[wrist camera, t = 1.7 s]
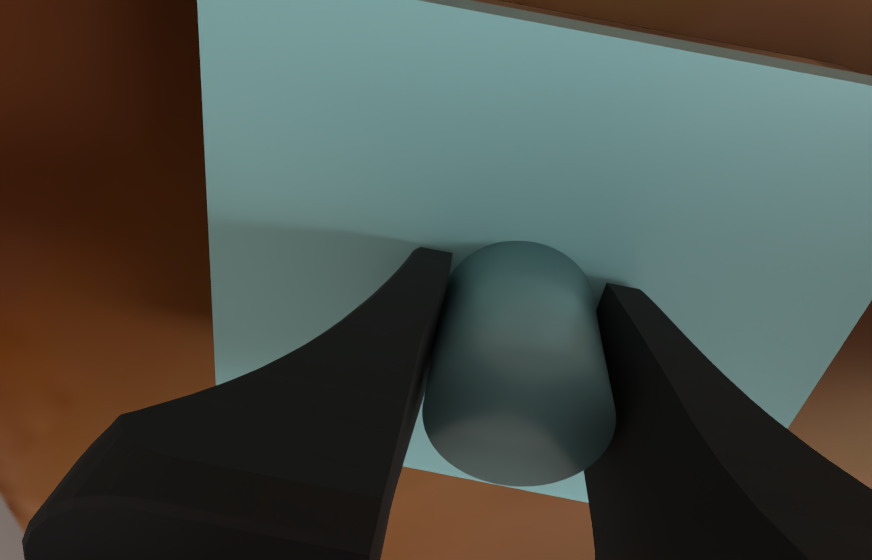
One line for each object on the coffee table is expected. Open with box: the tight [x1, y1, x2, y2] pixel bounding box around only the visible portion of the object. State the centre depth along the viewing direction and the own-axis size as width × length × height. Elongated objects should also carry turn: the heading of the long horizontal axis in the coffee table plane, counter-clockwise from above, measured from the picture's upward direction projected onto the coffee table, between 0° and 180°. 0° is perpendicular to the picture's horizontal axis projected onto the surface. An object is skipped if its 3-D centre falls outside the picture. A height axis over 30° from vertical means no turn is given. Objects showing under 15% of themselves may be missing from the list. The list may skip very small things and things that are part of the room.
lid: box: [197, 0, 872, 503], centre depth 11 cm, size 12×10×4 cm
